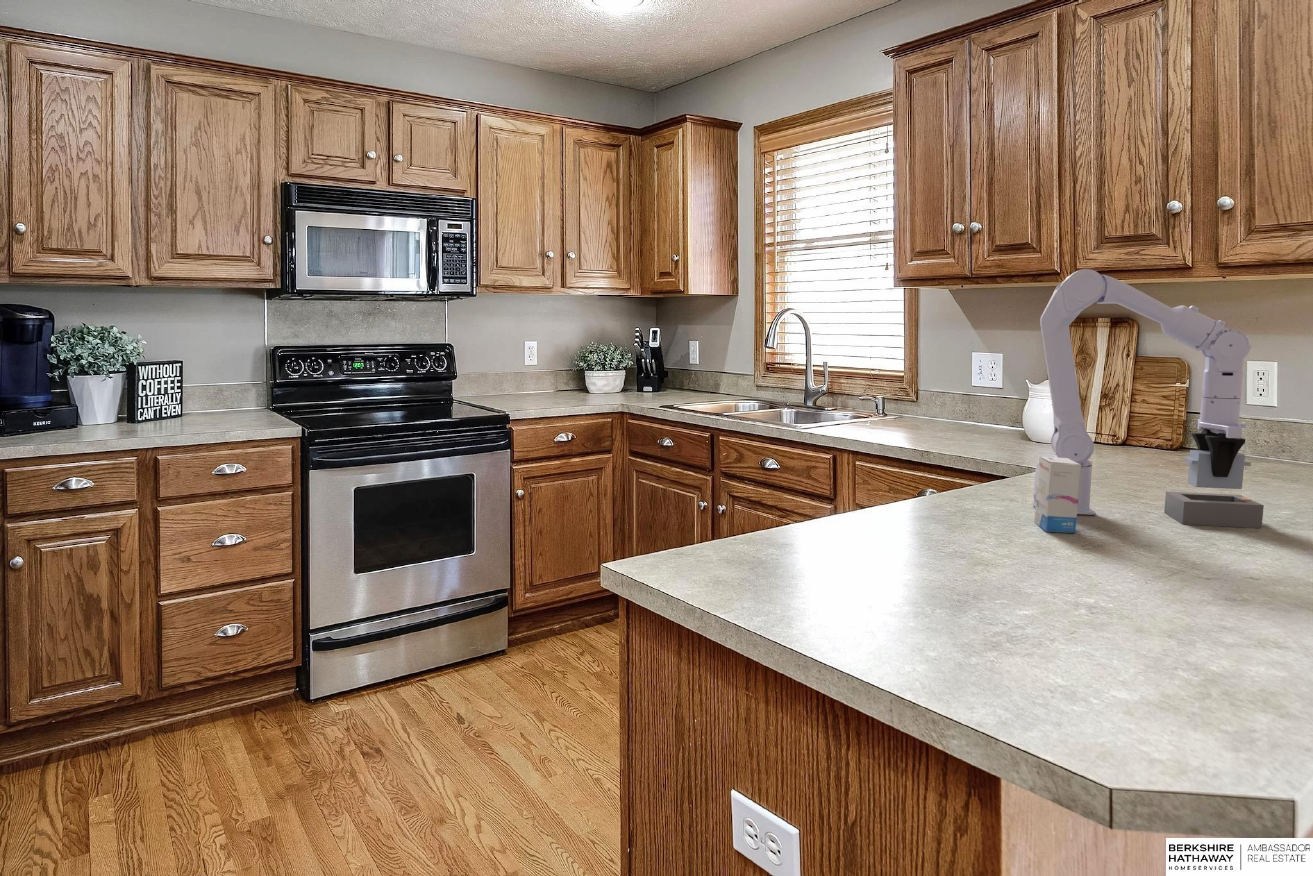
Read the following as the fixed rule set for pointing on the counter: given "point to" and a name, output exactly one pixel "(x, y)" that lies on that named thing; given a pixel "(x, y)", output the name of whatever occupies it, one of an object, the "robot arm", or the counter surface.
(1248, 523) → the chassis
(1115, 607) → the counter surface
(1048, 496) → the ink box
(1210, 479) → the servo
